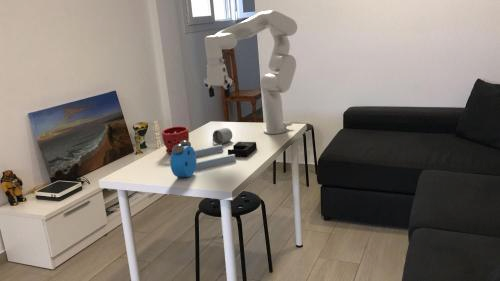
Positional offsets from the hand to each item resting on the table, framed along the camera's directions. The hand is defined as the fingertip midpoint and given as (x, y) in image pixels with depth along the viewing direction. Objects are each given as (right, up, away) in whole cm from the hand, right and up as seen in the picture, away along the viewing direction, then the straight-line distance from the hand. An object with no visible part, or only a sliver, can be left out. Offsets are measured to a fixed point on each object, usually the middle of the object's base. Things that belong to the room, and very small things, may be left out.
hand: (219, 96), depth 221 cm
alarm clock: (-12, -37, -29) cm, 48 cm away
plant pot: (-21, -28, +6) cm, 35 cm away
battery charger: (+11, -28, -5) cm, 31 cm away
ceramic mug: (0, -23, +16) cm, 28 cm away
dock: (-3, -30, -10) cm, 32 cm away
